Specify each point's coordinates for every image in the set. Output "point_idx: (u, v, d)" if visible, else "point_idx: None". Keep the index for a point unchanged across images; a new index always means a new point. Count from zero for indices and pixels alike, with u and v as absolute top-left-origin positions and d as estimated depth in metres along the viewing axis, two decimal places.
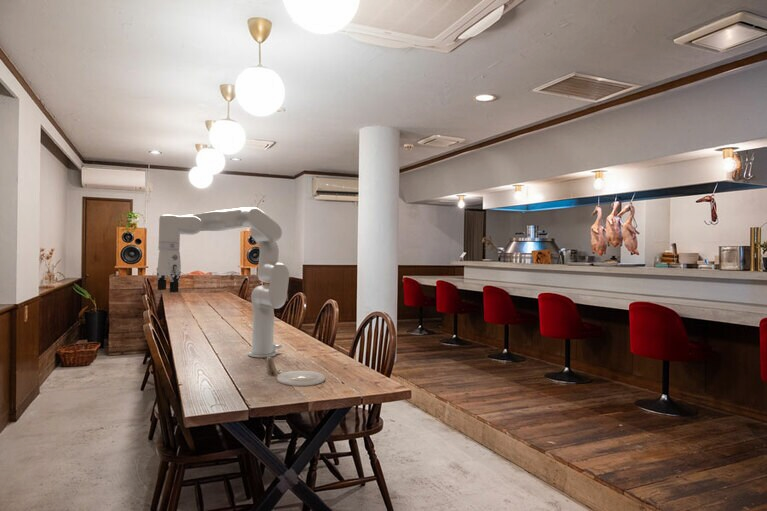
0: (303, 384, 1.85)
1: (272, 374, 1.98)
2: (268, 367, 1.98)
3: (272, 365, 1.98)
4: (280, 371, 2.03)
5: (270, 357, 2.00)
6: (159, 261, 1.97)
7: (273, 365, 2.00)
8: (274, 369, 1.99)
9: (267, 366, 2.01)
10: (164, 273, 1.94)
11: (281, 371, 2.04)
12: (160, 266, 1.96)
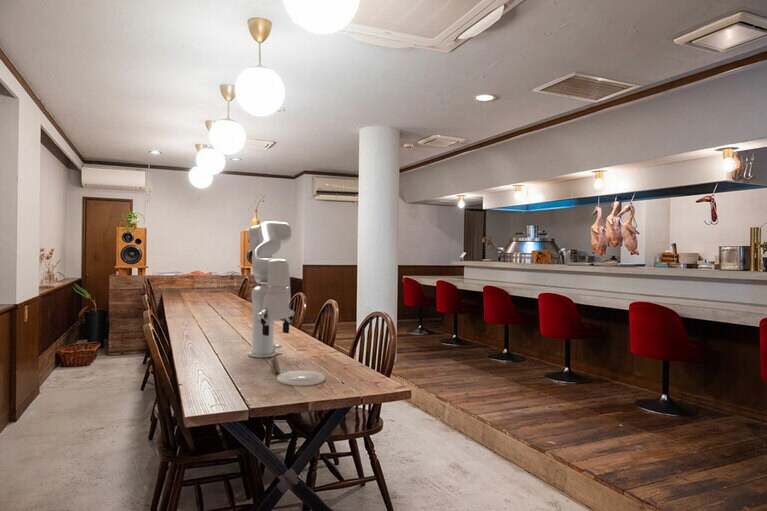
0: (303, 384, 1.85)
1: (276, 374, 1.98)
2: (272, 367, 1.98)
3: (276, 365, 1.99)
4: (284, 371, 2.04)
5: (274, 357, 2.01)
6: (274, 306, 1.97)
7: (277, 365, 2.00)
8: (278, 369, 2.00)
9: (271, 366, 2.02)
10: (282, 316, 2.00)
11: (285, 371, 2.04)
12: (277, 310, 1.98)
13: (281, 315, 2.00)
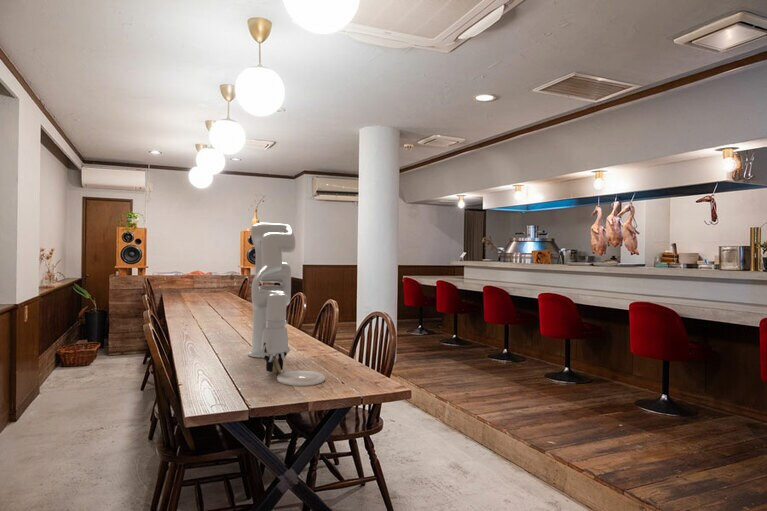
0: (303, 384, 1.85)
1: (277, 374, 1.98)
2: (273, 367, 1.98)
3: (277, 365, 1.99)
4: (284, 371, 2.04)
5: (275, 357, 2.01)
6: (273, 340, 1.98)
7: (278, 365, 2.00)
8: (279, 369, 1.99)
9: None
10: (281, 350, 2.01)
11: (285, 371, 2.04)
12: (275, 345, 1.98)
13: (280, 349, 2.00)
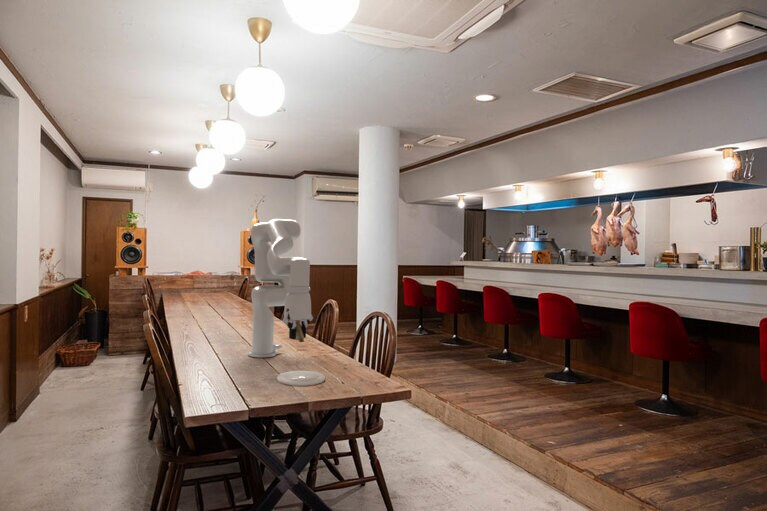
0: (303, 384, 1.85)
1: (301, 341, 1.91)
2: (296, 334, 1.91)
3: (300, 332, 1.92)
4: (308, 339, 1.97)
5: (298, 324, 1.94)
6: (296, 306, 1.91)
7: (301, 332, 1.93)
8: (302, 336, 1.93)
9: None
10: (304, 317, 1.94)
11: (308, 339, 1.97)
12: (299, 311, 1.92)
13: (303, 316, 1.94)
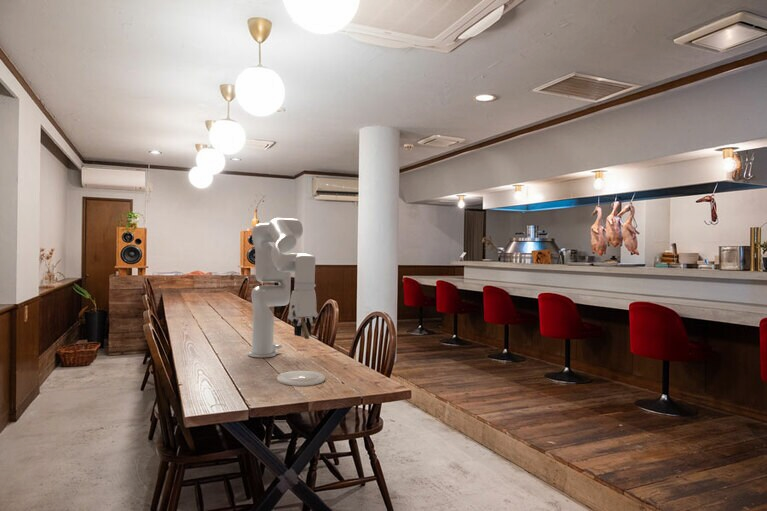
0: (303, 384, 1.85)
1: (306, 338, 1.90)
2: (302, 331, 1.90)
3: (306, 329, 1.91)
4: (313, 336, 1.96)
5: (303, 321, 1.93)
6: (302, 303, 1.90)
7: (306, 329, 1.92)
8: (308, 333, 1.91)
9: None
10: (309, 314, 1.93)
11: (314, 336, 1.96)
12: (304, 308, 1.90)
13: (308, 312, 1.92)
